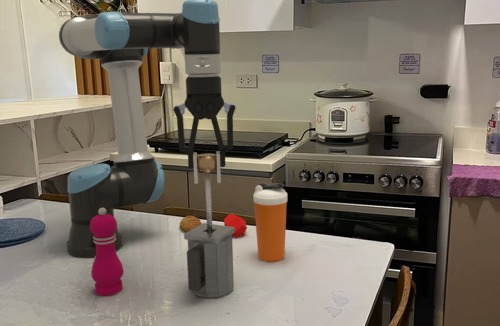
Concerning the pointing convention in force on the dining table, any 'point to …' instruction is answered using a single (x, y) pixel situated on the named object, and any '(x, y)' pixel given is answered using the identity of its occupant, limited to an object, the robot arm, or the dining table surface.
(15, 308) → the dining table surface
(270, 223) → the shaker bottle
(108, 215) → the pepper mill
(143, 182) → the robot arm
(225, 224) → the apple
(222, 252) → the faceted grey canister
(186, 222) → the pastry
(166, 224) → the dining table surface
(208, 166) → the plunger
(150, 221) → the dining table surface
